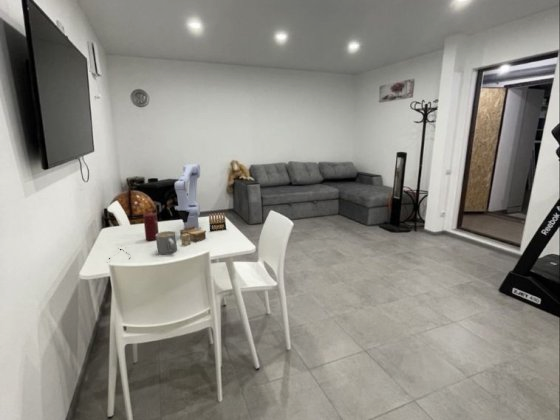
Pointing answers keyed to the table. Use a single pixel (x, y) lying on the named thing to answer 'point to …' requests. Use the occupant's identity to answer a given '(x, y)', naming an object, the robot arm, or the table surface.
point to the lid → (192, 231)
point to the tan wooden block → (185, 239)
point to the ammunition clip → (216, 224)
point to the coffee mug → (166, 242)
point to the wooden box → (195, 237)
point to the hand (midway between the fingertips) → (185, 222)
